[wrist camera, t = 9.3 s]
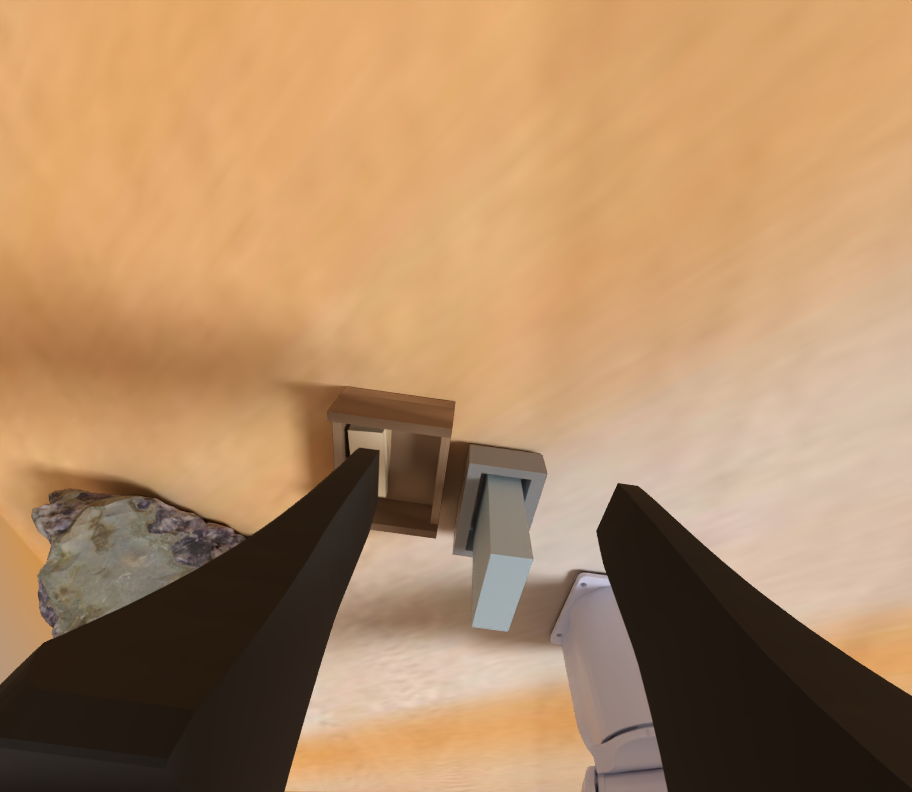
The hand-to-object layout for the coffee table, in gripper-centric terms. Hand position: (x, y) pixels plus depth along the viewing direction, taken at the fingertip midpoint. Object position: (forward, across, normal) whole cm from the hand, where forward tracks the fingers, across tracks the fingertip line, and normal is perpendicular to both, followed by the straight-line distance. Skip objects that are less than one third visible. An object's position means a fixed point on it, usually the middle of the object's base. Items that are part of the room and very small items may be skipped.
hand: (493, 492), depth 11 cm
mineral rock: (+11, +20, +16) cm, 28 cm away
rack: (+10, +5, +7) cm, 13 cm away
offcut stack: (+10, +6, +7) cm, 13 cm away
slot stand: (+10, -2, +10) cm, 14 cm away
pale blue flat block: (+10, -2, +10) cm, 14 cm away
